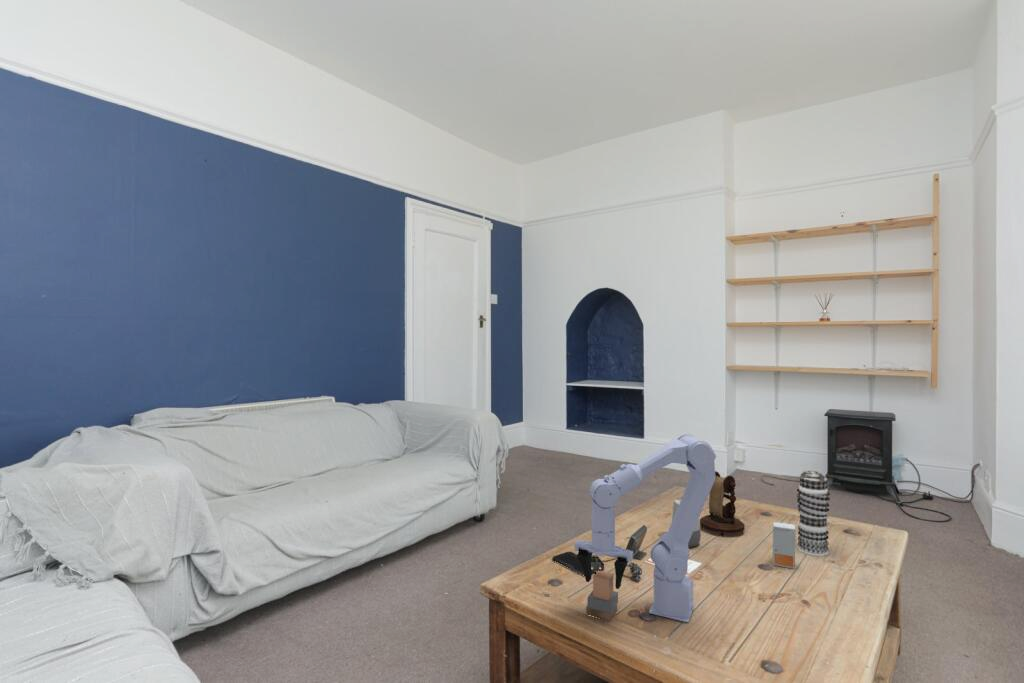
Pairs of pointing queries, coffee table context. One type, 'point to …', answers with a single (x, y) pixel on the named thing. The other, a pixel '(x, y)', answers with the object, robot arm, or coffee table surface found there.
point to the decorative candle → (813, 513)
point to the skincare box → (784, 545)
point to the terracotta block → (603, 585)
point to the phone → (570, 562)
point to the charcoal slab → (603, 602)
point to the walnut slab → (601, 613)
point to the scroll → (722, 508)
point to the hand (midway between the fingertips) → (603, 583)
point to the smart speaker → (696, 533)
